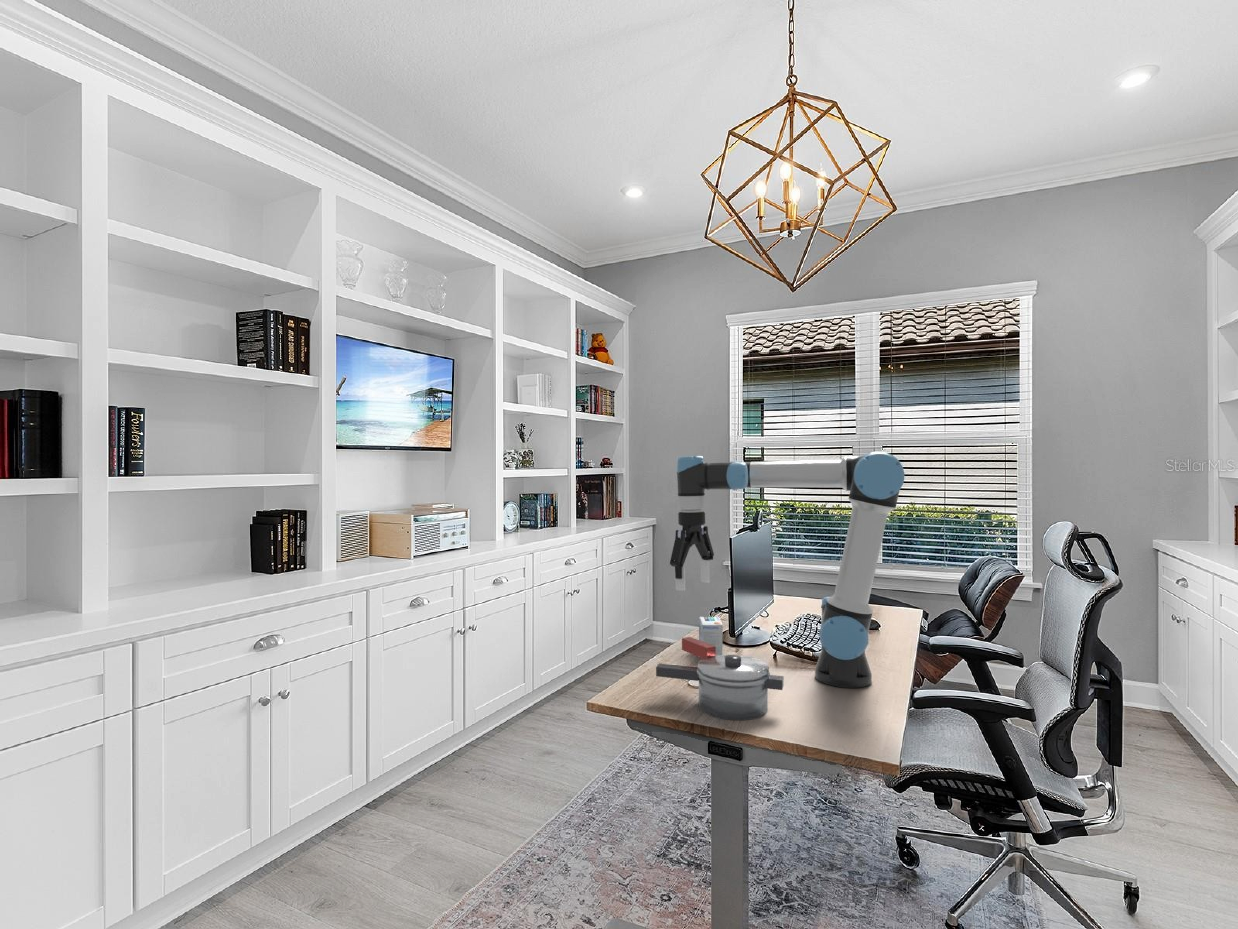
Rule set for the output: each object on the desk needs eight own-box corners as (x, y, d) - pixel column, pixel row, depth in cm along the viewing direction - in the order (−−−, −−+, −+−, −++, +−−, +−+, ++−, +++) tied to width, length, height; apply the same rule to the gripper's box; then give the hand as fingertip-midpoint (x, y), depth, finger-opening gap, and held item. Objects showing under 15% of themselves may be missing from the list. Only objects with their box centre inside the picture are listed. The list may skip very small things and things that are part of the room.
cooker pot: (785, 700, 172) (786, 665, 172) (779, 727, 155) (779, 688, 155) (666, 686, 182) (666, 653, 182) (648, 710, 165) (648, 673, 165)
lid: (784, 673, 165) (784, 659, 165) (729, 686, 156) (729, 671, 155) (711, 646, 189) (711, 633, 189) (659, 655, 180) (659, 642, 180)
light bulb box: (698, 649, 218) (698, 616, 218) (719, 649, 218) (719, 616, 218) (701, 659, 208) (701, 624, 208) (723, 659, 207) (723, 624, 207)
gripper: (701, 507, 200) (703, 578, 201) (655, 514, 180) (657, 592, 181) (724, 508, 196) (726, 580, 196) (679, 514, 176) (681, 595, 176)
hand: (693, 586), depth 188 cm, fingers open, 13 cm apart
